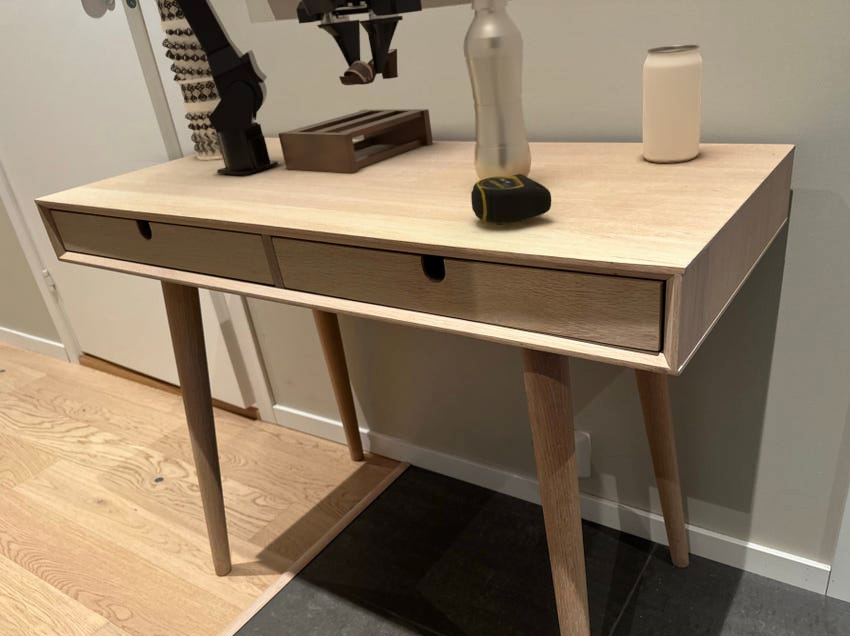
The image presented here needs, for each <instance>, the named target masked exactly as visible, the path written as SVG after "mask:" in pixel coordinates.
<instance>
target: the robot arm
mask: <svg viewBox="0 0 850 636" xmlns="http://www.w3.org/2000/svg"><path fill="white" fill-rule="evenodd" d="M175 1H176V3H177V4H178V6H179V8H180V10H181V11H182V13H183V15H184V17H185V18H186V20H187V22H188V24H189V25H190V27H191V29H192V31H193V33H194V34H195V36H196V38H197V40H198V41H199V43H200V45H201V47H202V48H203V50H204V52H205V54H206V57H207V60H208V64H209V67H210V71H211V74H212V78H213V81H214V83H215V86H216V88H217V91H218V94H219V96H220V99H221V100H220V102H219V103H218V105H217V106H216V108H215V110H214V111H213V113H212V114H211V116H210V117H209V121H210V122H211V124H212V126H213V127H214V129H215V130H216V134H217V138H218V141H219V145H220V149H221V153H222V156H223V158H222V160H223V164H224V167H222V168H219V169H217V170H216V171H217V174H225V175H236V176H237V175H238V176H247V175H251V174H253V173H256V172H259V171H263V170H266V169H269V168H272V167H275V166H278V165H279V161H278V160H271V159H270V154H269V151H268V147H267V142H266V137H265V135H264V133H263V130H262V126H261V123H259V122H256V120H257V115H258V112H259V110H260V109H261V108H262V106H263V105H264V103H265V101H266V98H267V95H268V94H267V93H268V90H267V86H266V83H265V81H266V80H267V79H268V77H267V75H266V74H265V73H263V72H262V70H261V69H260V67H259V64H258V63H257V59H256V56H255V54H254V52H253V50H252V49H250V50H248V51H246V52H245V53H243V52H242V51H241V50H240V48H239V47H238V46H237V45H236V44H235V43H234V41H233V40H232V39H231V37H230V34H229V33H228V31H227V29H226V27H225V26H224V24H223V22H222V20H221V19H220V16H219V14H218V13H217V11H216V9H215V7H214V6H213V4H212V2H211V0H175ZM362 2H364V4H362ZM349 4H351V5H349ZM422 11H423V6H422V0H300V1H299V2H298V4H297V7H296V14H297V20H298V24H306V23H307V24H308V23H315V22H320V24H316V26H317V28H318V29H322V30H324V31H325V32H326V33H328V34H329V35H330V36H332V38H333V39H334V42H335V43H336V45H337V46H338V47H339V50H340V52H341V54H342V55H343V57H344V60H345V62H346V64H347V66H348V68H349V67H350V66H351V65H352V64H353V63H354V62H355V61H361V29H360V28H361V27H362V28H363V29H364V31H365V32H366V33H367V36H368V42H369V47H370V54H371V59H373V64H374V67H375V71H376V73H377V74H376V75H382V73H383V71H384V67H385V63H386V59H387V55H388V52H389V50H390V47H391V43H392V40H393V37H394V36H395V32H396V30H397V27H398V24H399V21H403V15H401V14H408V13H409V14H410V13H415V12H422ZM359 14H368V19H364V20H360V19H352V20H351V19H350V15H359ZM360 25H361V26H360Z"/></svg>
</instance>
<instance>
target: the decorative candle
mask: <svg viewBox="0 0 850 636" xmlns="http://www.w3.org/2000/svg"><path fill="white" fill-rule="evenodd" d="M155 3H156V5H157V10H158V14H159V16H160V20H161V21H160V22H159V23H160V26H161V29H162V32H163V33H165V37H164V39H163V40H162V43H161V45H162V46H163V47H164V48H166V49H167V50H166V52H165V54H164V56H165V57H166V58H168V59H170V60H171V61H173V62H172V64H171V65H170V71H171V72H173V73H174V74H175V75H174V77H173V81H174V82H175V84H176V85H179V87H180V90H181V94H182V97H183V101H184V102H183V106H184V109H185V110H184V111H185V112H186V114H185V115H184V118H185V119H186V120H188V121H190V123H189V124H188V125H187V128H188V129H189V130H192V134H191V136H190V140H191V141H192V142H193V143H195V144H194V146H193V150H194V151H195V152H197V153H198V154H197V155H196V159H197V160H200V161H213V160H220V159H221V160H223V156H222V153H221V149H220V145H219V141H218V138H217V134H216V130H215V129H214V127H213V126H212V124H211V122H210V121H209V117H210V116H211V114H212V113H213V111H214V110H215V108H216V106H217V105H218V103H219V102H220V100H221V99H220V96H219V94H218V91H217V88H216V86H215V83H214V81H213V78H212V74H211V71H210V67H209V64H208V60H207V57H206V54H205V52H204V50H203V48H202V47H201V45H200V43H199V41H198V40H197V38H196V36H195V34H194V33H193V31H192V29H191V27H190V25H189V24H188V22H187V20H186V18H185V17H184V15H183V13H182V11H181V10H180V8H179V6H178V4H177V3H176V1H175V0H155Z"/></svg>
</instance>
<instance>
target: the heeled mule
mask: <svg viewBox="0 0 850 636" xmlns="http://www.w3.org/2000/svg"><path fill="white" fill-rule="evenodd" d="M377 75H378V74H377V73H376V71H375V67H374V64H373V59H372V58H371V59H370V60H369V61H368V62H365V61H363V60H360V61H355V62H354V63H353V64H352V65H351V66H350V67H349V66H348V68H347V69H346V70H345V71H344V72H343V75H341V76H338V78H339V81H340V83H341V84H342V85H344V86H355V85H362V86H363V85H369V84H372V83H374V81H375V79H376V77H377ZM381 77H382V79H383V80H389V79H396V78H398V77H399V74H398V49H397V48H393V49H392V48H391V49H389V52H388V55H387V59H386V63H385V67H384V71H383V73H381Z"/></svg>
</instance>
